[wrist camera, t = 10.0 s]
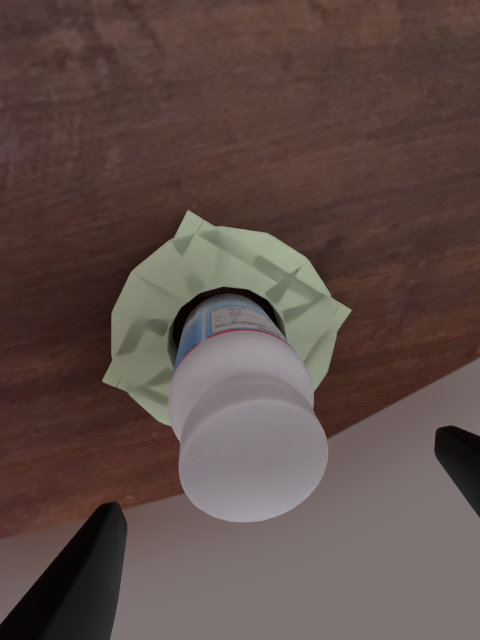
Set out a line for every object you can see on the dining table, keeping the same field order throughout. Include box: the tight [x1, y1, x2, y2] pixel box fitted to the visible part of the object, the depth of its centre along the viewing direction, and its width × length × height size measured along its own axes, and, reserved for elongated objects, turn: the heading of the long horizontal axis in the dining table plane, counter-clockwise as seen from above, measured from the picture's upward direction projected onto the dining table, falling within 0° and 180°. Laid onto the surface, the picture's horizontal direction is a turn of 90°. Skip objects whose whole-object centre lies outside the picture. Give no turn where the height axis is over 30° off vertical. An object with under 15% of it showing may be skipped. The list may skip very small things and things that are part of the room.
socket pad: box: [102, 211, 351, 427], centre depth 18 cm, size 13×13×2 cm
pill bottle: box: [168, 294, 328, 522], centre depth 14 cm, size 6×6×11 cm
